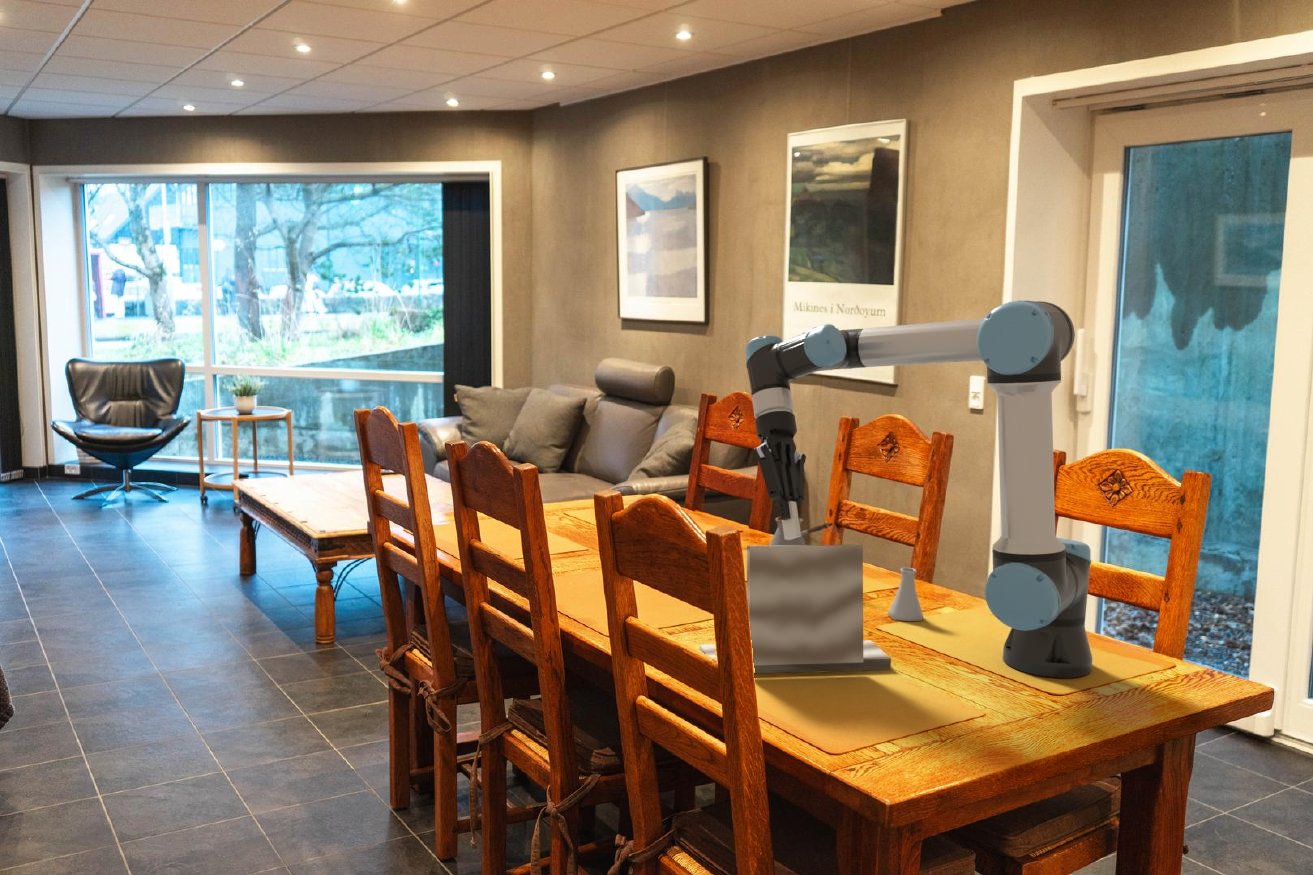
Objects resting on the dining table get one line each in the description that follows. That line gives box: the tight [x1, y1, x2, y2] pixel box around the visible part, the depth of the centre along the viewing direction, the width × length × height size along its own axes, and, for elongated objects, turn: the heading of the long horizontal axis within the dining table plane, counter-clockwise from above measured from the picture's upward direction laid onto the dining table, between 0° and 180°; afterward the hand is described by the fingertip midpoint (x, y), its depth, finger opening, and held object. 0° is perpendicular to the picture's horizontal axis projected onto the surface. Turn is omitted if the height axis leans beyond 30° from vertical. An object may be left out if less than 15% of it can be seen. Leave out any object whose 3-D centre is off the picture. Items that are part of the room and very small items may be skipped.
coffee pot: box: [769, 516, 837, 545], centre depth 252 cm, size 21×12×15 cm, turn 30°
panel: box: [746, 544, 864, 665], centre depth 189 cm, size 20×20×2 cm
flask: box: [886, 567, 924, 622], centre depth 224 cm, size 7×7×10 cm
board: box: [699, 639, 892, 675], centre depth 195 cm, size 10×32×2 cm, turn 99°
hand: (792, 537), depth 200 cm, fingers closed
